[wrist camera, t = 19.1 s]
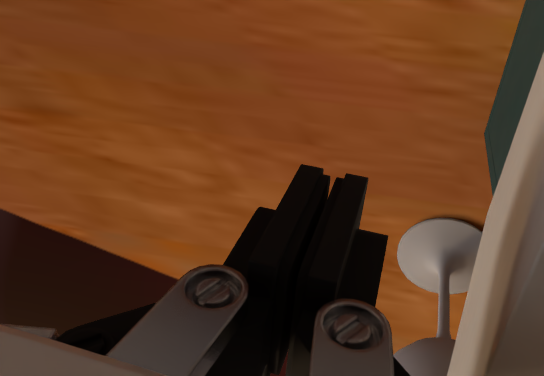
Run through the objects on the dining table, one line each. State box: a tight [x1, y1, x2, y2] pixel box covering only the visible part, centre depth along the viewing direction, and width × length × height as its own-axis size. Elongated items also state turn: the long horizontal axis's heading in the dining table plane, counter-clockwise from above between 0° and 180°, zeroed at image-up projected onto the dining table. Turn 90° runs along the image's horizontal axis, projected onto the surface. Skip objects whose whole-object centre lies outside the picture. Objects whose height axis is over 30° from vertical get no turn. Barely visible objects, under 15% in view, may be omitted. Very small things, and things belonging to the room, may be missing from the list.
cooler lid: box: [447, 52, 544, 376], centre depth 15 cm, size 18×14×1 cm
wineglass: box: [393, 218, 483, 376], centre depth 31 cm, size 8×8×21 cm
